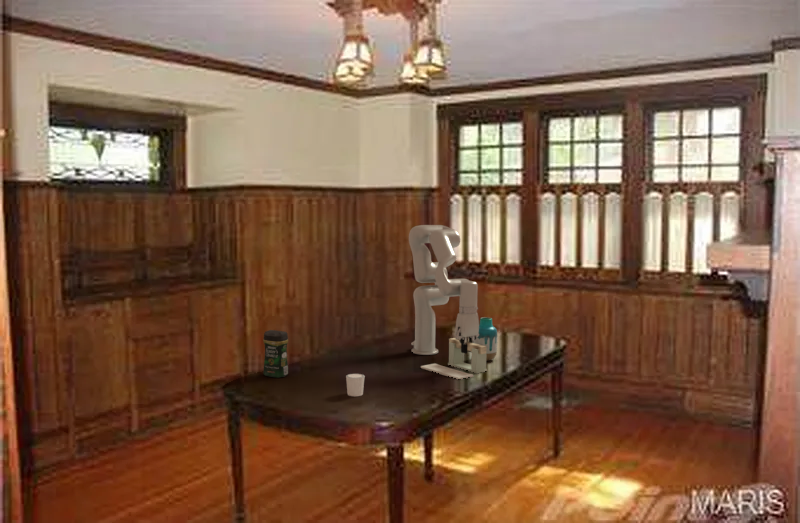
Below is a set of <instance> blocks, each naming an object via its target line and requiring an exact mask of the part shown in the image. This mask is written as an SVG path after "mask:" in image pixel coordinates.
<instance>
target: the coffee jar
mask: <svg viewBox="0 0 800 523" xmlns="http://www.w3.org/2000/svg"><path fill="white" fill-rule="evenodd" d="M262 341H263V345H264V361H263V363H264V364H263V375H264V376H266V377H270V378H277V379H278V378H284V377H286V376H288V374H289V362H288V353H287V352H288V350H287V349H288V343H289V336H288V333H287V331H283V330H275V329H270V330H266V331H264V333H263V340H262Z"/></svg>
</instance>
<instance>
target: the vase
mask: <svg viewBox="0 0 800 523" xmlns="http://www.w3.org/2000/svg"><path fill="white" fill-rule="evenodd" d="M478 333H479V336H478V337H477V338H476V339H475V342H474V343H475V344H479V345H483V346H486V348H487V352H486V362H487V361H492V360H494V359H495V357H496V356H497V352H498V339H499V338H498V330H497V328H496V327H495V326H494V325H493V318H492V317H489V316H488V317H485V316H484V317H480V318H479V332H478Z"/></svg>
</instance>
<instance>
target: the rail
mask: <svg viewBox="0 0 800 523" xmlns="http://www.w3.org/2000/svg"><path fill="white" fill-rule="evenodd" d="M449 343H455V344H456V348H460V349H461V343H460V341H459V340H457V339H456V337H453V338H452V337H451V338H448V344H449ZM466 344H467V352H468V351H471V352H470V353H472V348H475V349H478V354H486V346H483V345H479V344H475V343H471V342H468V341H467V342H466Z"/></svg>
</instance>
